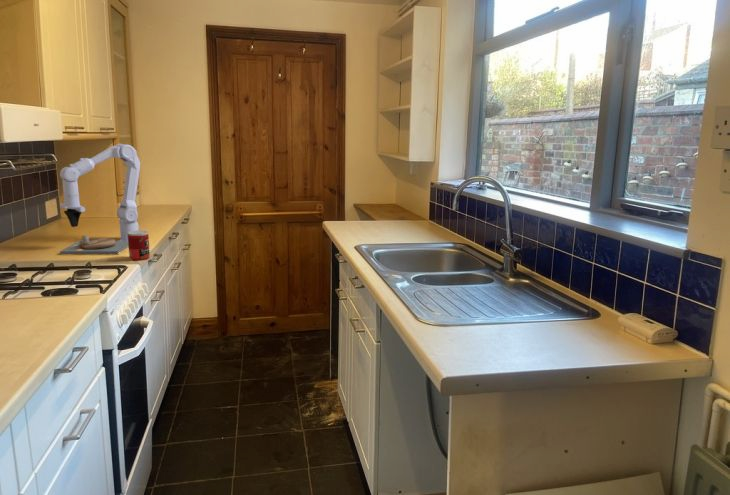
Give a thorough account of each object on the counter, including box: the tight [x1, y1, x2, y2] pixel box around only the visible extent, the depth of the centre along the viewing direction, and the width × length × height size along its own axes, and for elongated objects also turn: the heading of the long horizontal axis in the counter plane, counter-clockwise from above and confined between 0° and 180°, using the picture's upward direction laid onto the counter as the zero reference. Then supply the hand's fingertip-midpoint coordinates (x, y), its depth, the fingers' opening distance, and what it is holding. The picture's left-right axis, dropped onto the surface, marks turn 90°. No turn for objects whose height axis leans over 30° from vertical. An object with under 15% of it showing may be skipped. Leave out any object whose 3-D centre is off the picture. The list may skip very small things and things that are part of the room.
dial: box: [79, 235, 116, 249], centre depth 239 cm, size 14×14×5 cm
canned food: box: [128, 229, 151, 262], centre depth 226 cm, size 8×8×11 cm
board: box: [60, 240, 129, 255], centre depth 239 cm, size 19×23×2 cm
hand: (74, 226), depth 239 cm, fingers closed
